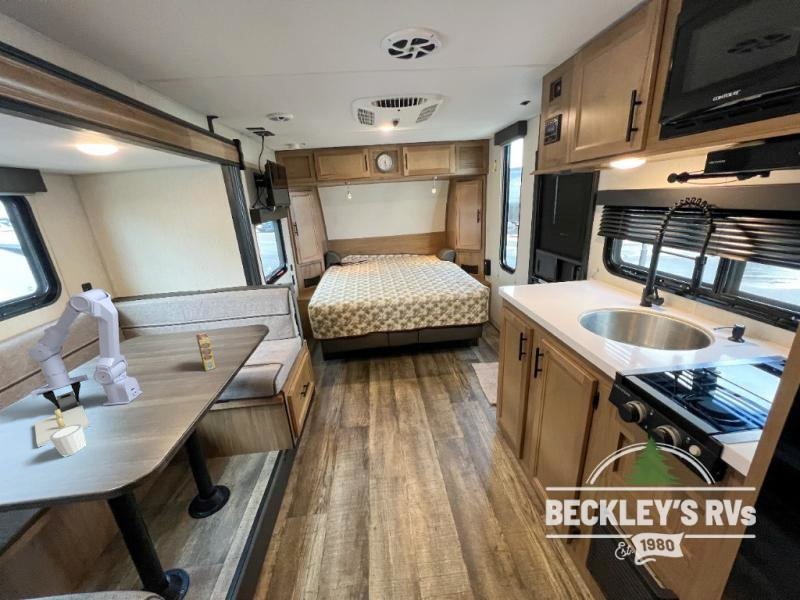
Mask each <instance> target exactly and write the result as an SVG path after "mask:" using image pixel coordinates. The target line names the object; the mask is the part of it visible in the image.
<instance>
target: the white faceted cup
mask: <svg viewBox="0 0 800 600" xmlns="http://www.w3.org/2000/svg"><path fill="white" fill-rule="evenodd" d="M50 439H51V441H52V444H53V445H54V447H55V448H56V450H57V452H58V453H59V454H61V455H69V454H73V453H75V452H77V451H78V450H80V449H82V448H83V447H84V446H86V443H87V440H86V435H85V433H84V430H83V428H82V425H81V424H75V425H71V426H67V427H65V428H62V429H60V430H58V431H57V432H55V433H53V434H52V435H51V436H50ZM86 447H87V446H86ZM61 455H60V456H61Z"/></svg>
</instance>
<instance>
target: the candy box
mask: <svg viewBox="0 0 800 600" xmlns="http://www.w3.org/2000/svg"><path fill="white" fill-rule="evenodd" d="M195 337H196V340H197V345H198V350H199V353H200V354H199V355H200V357H201V361H202V365H203V367H204V370H205V371H210V370H214V369H216V364H215V360H214V355H213V351H212V346H211V342H210V338H209V336H208V335H207V333H206V332H203V333H198V334H196V335H195Z"/></svg>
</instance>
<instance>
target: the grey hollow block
mask: <svg viewBox="0 0 800 600" xmlns="http://www.w3.org/2000/svg"><path fill="white" fill-rule="evenodd" d="M55 397H56V399H57V401H58V403H59V406H60V411H61V413H62V412H65V411H67V410H70V409H73V408H76V407H78V406H80V405H79V402H77V400H76V398H75V394H74V392H73V390H71V391H69V392H66V393H63V394H59V395H57V396H56V395H55Z"/></svg>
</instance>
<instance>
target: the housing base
mask: <svg viewBox="0 0 800 600" xmlns="http://www.w3.org/2000/svg"><path fill="white" fill-rule="evenodd" d="M53 413H54V415H51V416H49V417H46V418H44V419H43V418H42V419H41V420H38V421H36V422H34V429H35V430H34V431H35V438H36V439H35V440H36V445H37V448H38V447H39V446H41V445H43V444H46V443H48V442H51V439H50V436H51V435H52V434H53V433H55V432H57V431H58V430H60V429H62V428H65V427H67V426H71V425H75V424H81V425H82V428H86V427H88V426H90V427H91V425H90V421H89V418H88V417H87V414H86V411H85V410H84V405H79V406H78V407H76V408H73V409H70V410H67V411H65V412H62V410H61V408H60V409H58V408H56V409H55V410H54V411H53ZM86 429H87V428H86Z"/></svg>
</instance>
